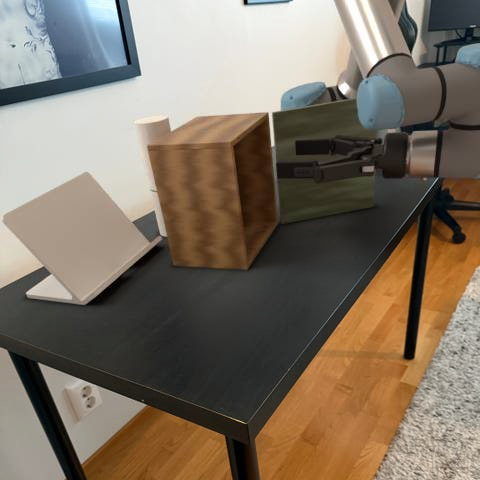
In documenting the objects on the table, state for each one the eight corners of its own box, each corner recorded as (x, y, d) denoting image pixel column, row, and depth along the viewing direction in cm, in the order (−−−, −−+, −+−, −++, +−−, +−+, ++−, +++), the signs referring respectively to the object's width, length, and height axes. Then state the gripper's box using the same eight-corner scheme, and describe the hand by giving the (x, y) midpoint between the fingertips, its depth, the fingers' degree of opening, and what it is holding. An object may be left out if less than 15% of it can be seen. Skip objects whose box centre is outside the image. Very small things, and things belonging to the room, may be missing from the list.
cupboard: (278, 224, 108) (268, 111, 95) (247, 270, 92) (230, 141, 78) (213, 222, 114) (196, 116, 101) (173, 265, 97) (146, 145, 84)
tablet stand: (25, 297, 94) (-11, 216, 84) (99, 242, 112) (77, 171, 103) (100, 306, 87) (70, 219, 77) (166, 246, 106) (148, 170, 96)
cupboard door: (275, 214, 113) (265, 108, 100) (363, 198, 115) (365, 91, 102) (281, 224, 108) (272, 113, 95) (374, 206, 109) (377, 95, 96)
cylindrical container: (184, 236, 109) (161, 121, 95) (155, 237, 111) (128, 124, 97) (193, 224, 115) (172, 114, 101) (165, 225, 116) (141, 117, 103)
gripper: (400, 204, 73) (269, 203, 81) (410, 155, 92) (303, 158, 100) (404, 155, 69) (265, 158, 77) (413, 114, 88) (301, 120, 95)
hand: (286, 158), depth 88 cm, fingers open, 13 cm apart
